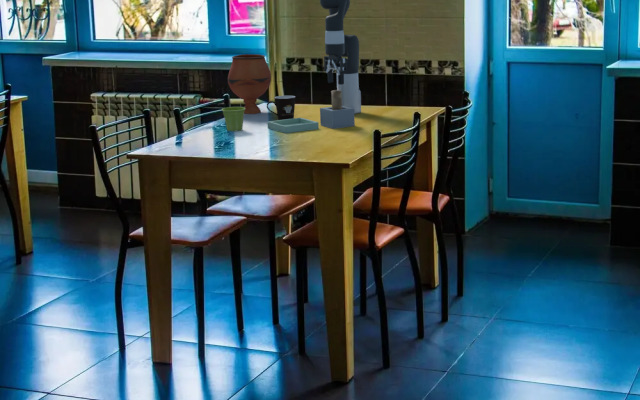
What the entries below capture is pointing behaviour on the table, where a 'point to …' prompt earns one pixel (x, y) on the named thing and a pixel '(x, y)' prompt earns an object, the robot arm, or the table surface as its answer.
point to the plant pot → (234, 118)
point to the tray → (293, 125)
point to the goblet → (249, 79)
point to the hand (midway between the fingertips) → (335, 83)
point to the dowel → (336, 99)
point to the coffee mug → (284, 107)
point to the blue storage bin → (337, 117)
